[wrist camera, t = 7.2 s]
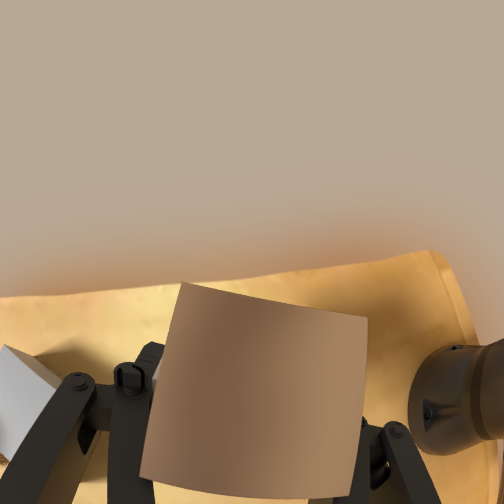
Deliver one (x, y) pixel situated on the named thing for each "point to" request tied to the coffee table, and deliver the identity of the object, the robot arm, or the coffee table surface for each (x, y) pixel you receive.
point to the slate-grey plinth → (21, 396)
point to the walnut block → (257, 398)
